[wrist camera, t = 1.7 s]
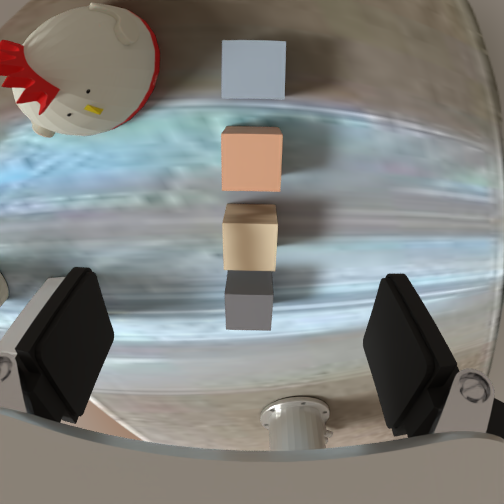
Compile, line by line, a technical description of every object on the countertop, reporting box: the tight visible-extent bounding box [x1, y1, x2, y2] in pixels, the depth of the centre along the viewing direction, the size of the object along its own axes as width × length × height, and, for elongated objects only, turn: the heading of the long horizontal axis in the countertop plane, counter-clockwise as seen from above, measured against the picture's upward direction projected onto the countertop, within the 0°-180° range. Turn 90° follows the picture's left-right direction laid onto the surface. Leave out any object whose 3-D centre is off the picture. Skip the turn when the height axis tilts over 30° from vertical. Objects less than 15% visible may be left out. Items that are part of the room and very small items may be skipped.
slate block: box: [222, 40, 286, 100], centre depth 24 cm, size 5×5×5 cm
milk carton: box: [0, 277, 65, 358], centre depth 32 cm, size 7×7×19 cm
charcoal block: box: [225, 270, 273, 331], centre depth 36 cm, size 5×5×5 cm
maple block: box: [222, 204, 278, 271], centre depth 32 cm, size 5×5×5 cm
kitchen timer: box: [0, 3, 160, 138], centre depth 19 cm, size 14×14×15 cm
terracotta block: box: [221, 126, 283, 192], centre depth 28 cm, size 5×5×5 cm
